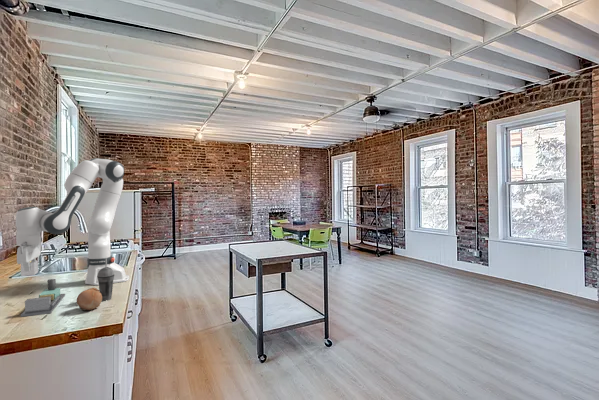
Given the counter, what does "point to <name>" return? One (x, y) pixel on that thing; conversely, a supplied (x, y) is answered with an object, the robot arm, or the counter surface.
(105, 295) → the beverage cup
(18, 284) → the counter surface
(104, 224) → the robot arm
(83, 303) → the onion
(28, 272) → the housing
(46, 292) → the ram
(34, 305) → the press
